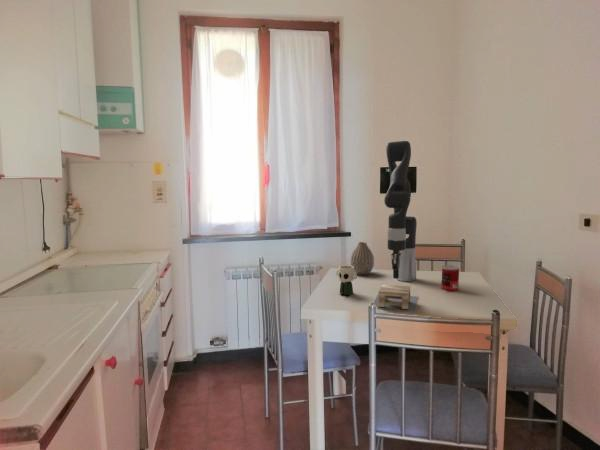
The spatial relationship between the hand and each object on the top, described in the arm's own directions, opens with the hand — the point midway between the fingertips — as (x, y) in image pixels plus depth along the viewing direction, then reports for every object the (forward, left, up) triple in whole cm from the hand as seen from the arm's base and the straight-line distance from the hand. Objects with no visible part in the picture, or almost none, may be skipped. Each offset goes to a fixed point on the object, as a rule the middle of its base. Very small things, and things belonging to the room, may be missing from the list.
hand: (395, 278), depth 191 cm
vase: (-19, -52, -11) cm, 57 cm away
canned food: (-37, -5, -11) cm, 39 cm away
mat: (0, 0, -11) cm, 11 cm away
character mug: (+11, -22, -11) cm, 27 cm away
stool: (-2, -2, -7) cm, 7 cm away
